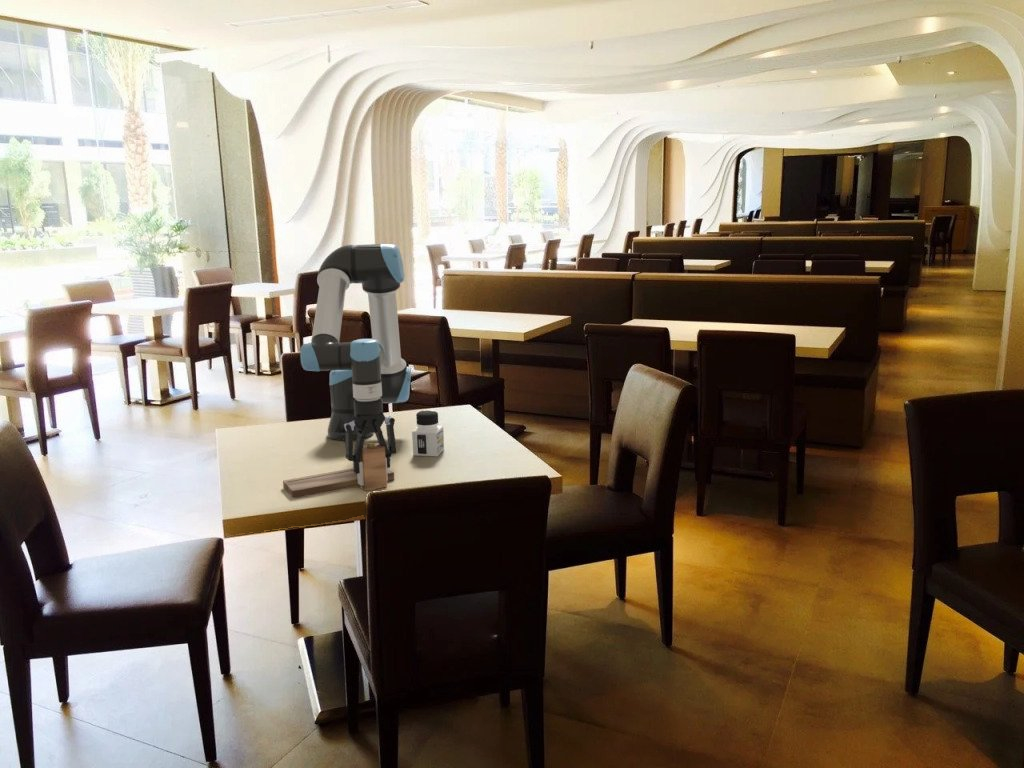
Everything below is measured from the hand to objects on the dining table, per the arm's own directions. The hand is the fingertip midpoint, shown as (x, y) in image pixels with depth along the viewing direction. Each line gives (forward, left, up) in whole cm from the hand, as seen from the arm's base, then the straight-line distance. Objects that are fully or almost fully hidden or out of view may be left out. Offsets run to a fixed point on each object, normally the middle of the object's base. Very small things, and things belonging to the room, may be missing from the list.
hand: (372, 481), depth 220 cm
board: (-8, -7, -1) cm, 11 cm away
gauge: (-5, 0, -1) cm, 5 cm away
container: (-21, +26, -2) cm, 33 cm away
